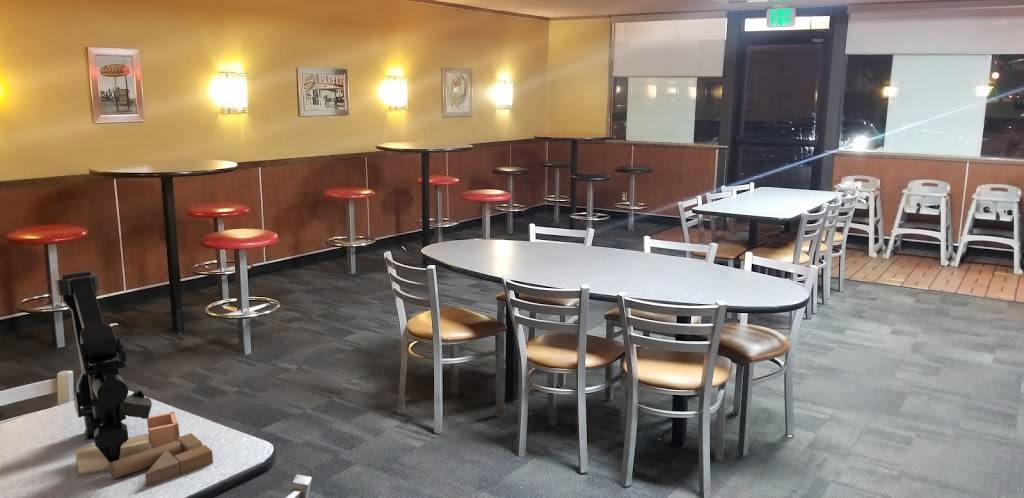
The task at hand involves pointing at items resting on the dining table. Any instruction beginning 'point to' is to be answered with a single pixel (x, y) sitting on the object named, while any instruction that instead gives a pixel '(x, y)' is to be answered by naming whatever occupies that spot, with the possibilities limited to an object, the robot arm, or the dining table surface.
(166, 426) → the u-shaped bracket
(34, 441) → the dining table surface
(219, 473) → the dining table surface
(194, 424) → the dining table surface
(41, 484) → the dining table surface
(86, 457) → the wooden building block
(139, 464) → the tan wooden pieces
